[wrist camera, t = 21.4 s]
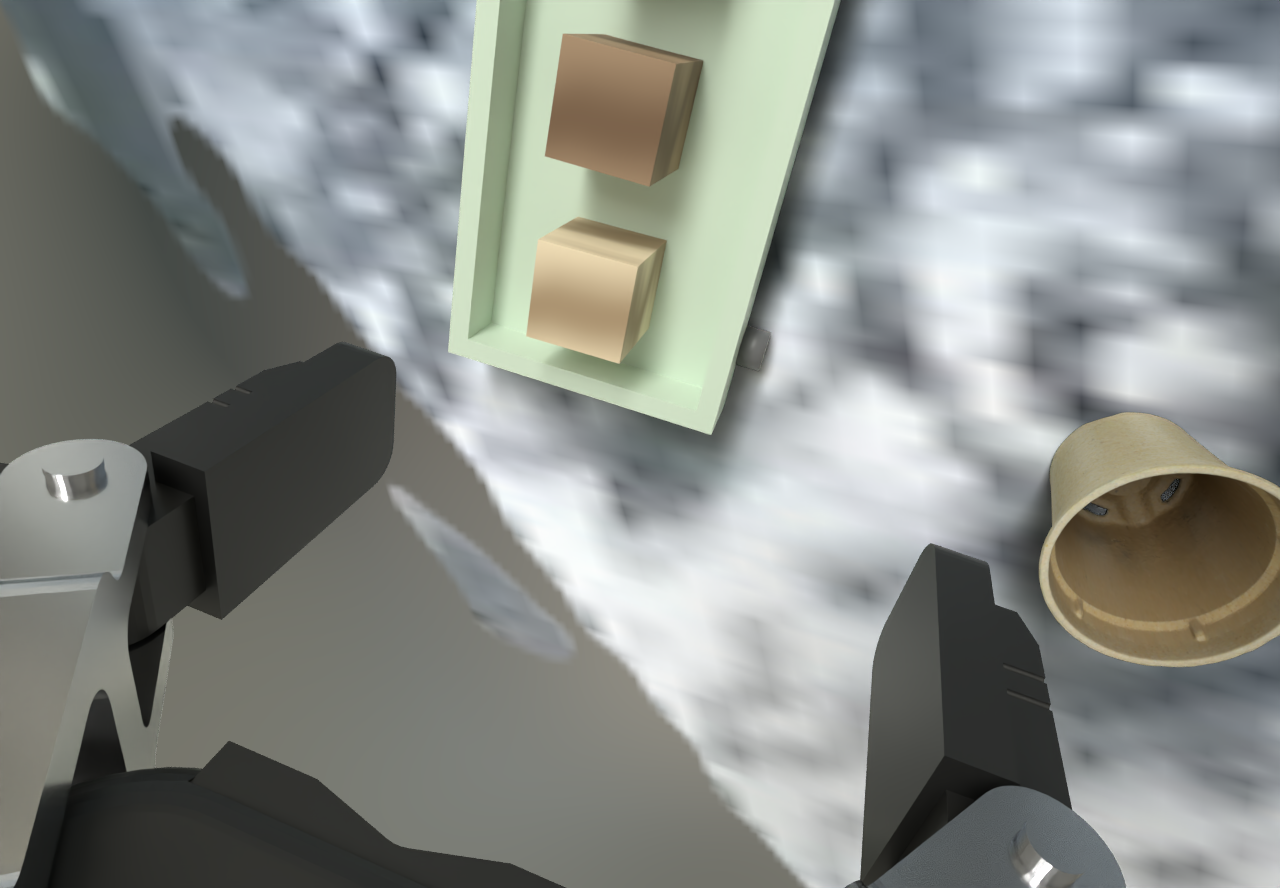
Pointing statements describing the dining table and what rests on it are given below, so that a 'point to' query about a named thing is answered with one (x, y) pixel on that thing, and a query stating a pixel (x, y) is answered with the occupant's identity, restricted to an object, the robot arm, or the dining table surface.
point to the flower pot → (1160, 546)
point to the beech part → (594, 288)
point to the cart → (636, 191)
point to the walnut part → (621, 107)
